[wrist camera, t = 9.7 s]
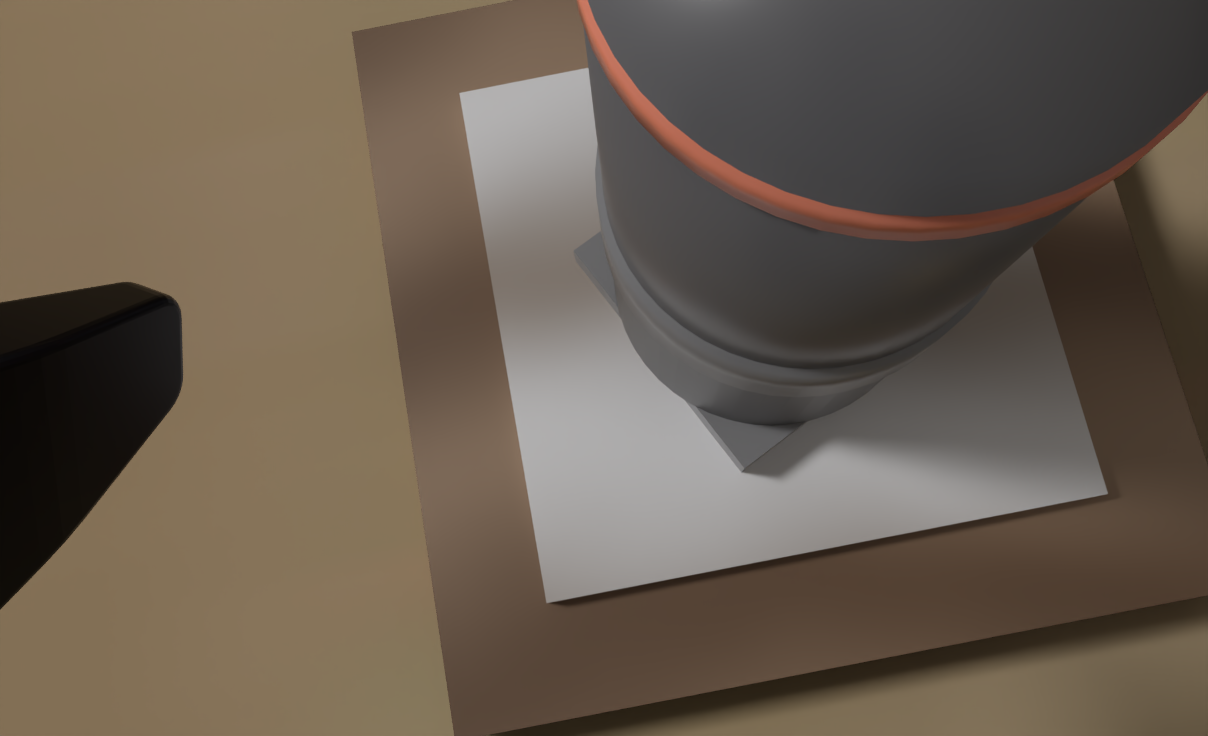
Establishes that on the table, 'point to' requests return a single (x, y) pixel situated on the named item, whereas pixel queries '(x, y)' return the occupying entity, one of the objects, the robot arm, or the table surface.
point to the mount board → (696, 460)
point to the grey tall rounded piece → (850, 175)
